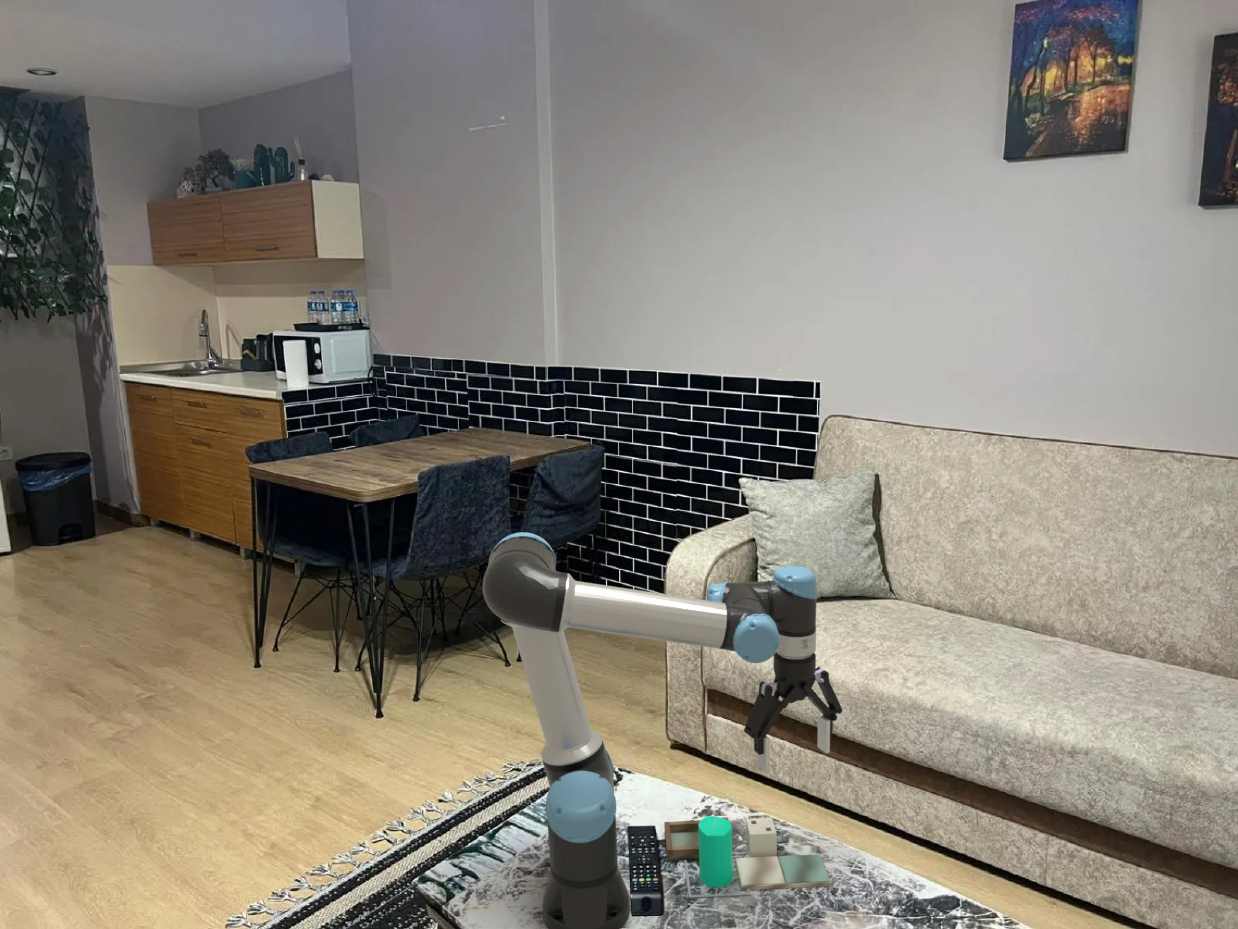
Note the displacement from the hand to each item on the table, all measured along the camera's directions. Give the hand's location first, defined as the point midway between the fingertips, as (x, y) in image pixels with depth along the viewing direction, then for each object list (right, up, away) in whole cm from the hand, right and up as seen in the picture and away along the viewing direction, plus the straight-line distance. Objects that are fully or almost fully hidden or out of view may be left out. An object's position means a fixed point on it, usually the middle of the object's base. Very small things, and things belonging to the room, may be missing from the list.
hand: (793, 759), depth 170 cm
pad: (-15, -20, -3) cm, 25 cm away
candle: (-15, -21, -3) cm, 26 cm away
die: (-5, -19, +5) cm, 20 cm away
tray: (-18, -19, +6) cm, 27 cm away
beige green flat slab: (-3, -20, -3) cm, 20 cm away
